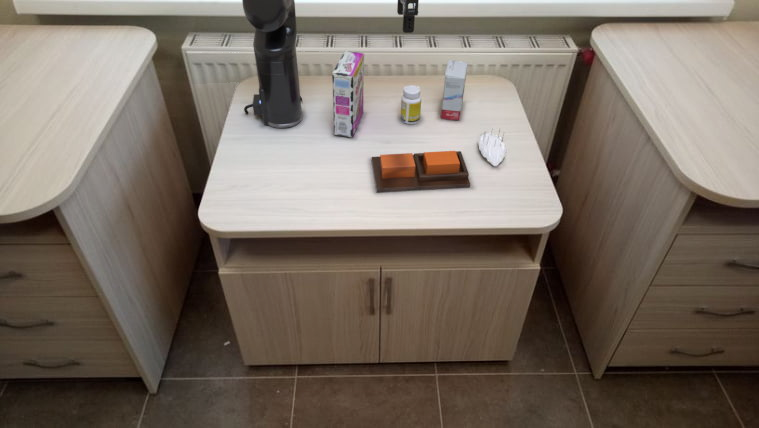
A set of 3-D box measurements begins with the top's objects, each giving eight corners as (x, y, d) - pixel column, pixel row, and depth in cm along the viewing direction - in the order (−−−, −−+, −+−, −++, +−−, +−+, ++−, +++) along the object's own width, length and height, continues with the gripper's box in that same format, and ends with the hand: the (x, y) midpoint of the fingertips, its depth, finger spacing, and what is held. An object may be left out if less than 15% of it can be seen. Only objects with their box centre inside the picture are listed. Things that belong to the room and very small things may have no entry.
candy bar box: (354, 138, 127) (353, 76, 116) (333, 136, 128) (330, 73, 117) (364, 113, 135) (364, 52, 124) (345, 110, 136) (343, 49, 125)
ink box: (459, 121, 133) (465, 78, 125) (439, 118, 134) (444, 76, 126) (462, 103, 139) (468, 61, 131) (443, 100, 140) (448, 58, 132)
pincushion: (473, 135, 129) (477, 115, 125) (499, 135, 129) (503, 115, 125) (481, 167, 120) (485, 146, 117) (508, 167, 121) (513, 146, 117)
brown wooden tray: (376, 192, 114) (376, 178, 111) (371, 160, 121) (371, 145, 119) (469, 187, 115) (472, 172, 113) (459, 155, 123) (461, 141, 121)
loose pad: (426, 176, 116) (427, 165, 114) (422, 163, 120) (423, 152, 117) (458, 174, 117) (460, 163, 115) (453, 161, 120) (455, 150, 118)
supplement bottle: (422, 117, 134) (425, 87, 129) (415, 126, 131) (417, 96, 126) (404, 112, 136) (406, 82, 130) (397, 121, 133) (398, 91, 127)
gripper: (385, -72, 107) (383, 9, 118) (394, -48, 97) (391, 39, 108) (423, -73, 107) (417, 8, 119) (436, -48, 97) (428, 37, 108)
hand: (405, 22), depth 113 cm, fingers open, 8 cm apart
